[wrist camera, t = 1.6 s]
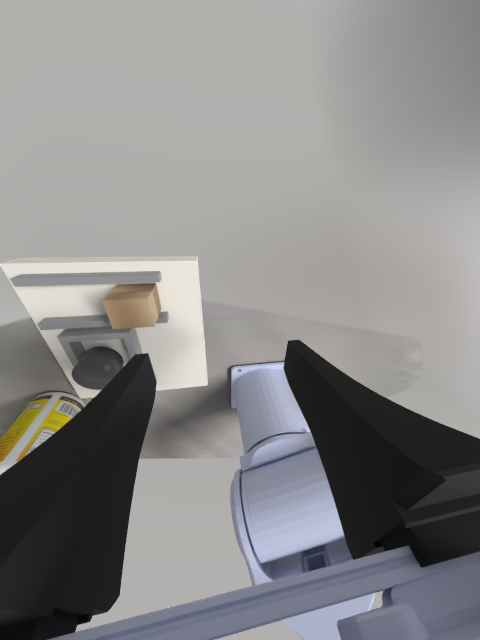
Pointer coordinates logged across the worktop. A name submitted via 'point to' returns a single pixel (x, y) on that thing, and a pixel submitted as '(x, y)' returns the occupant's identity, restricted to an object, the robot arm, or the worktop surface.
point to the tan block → (133, 305)
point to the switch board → (92, 320)
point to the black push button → (97, 367)
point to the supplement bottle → (37, 425)
